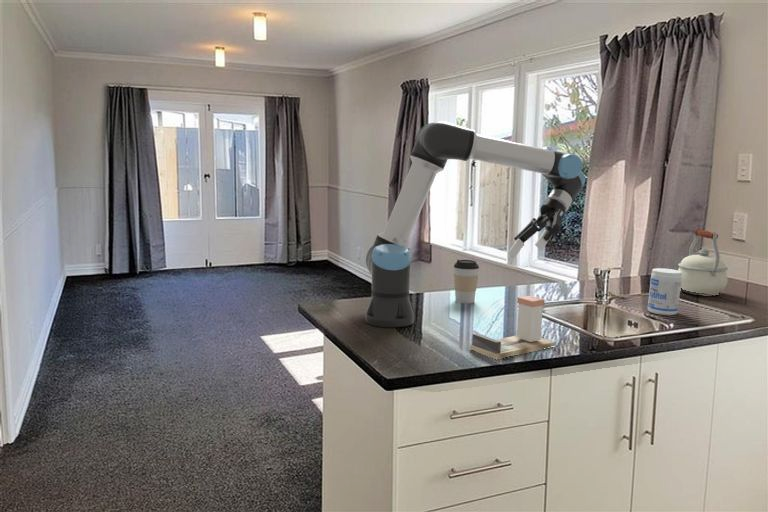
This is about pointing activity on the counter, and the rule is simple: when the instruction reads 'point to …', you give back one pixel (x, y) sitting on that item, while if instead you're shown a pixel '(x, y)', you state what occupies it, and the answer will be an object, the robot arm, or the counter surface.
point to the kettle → (703, 268)
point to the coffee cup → (465, 280)
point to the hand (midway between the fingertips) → (524, 251)
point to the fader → (529, 318)
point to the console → (506, 346)
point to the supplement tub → (664, 291)
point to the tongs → (615, 295)
